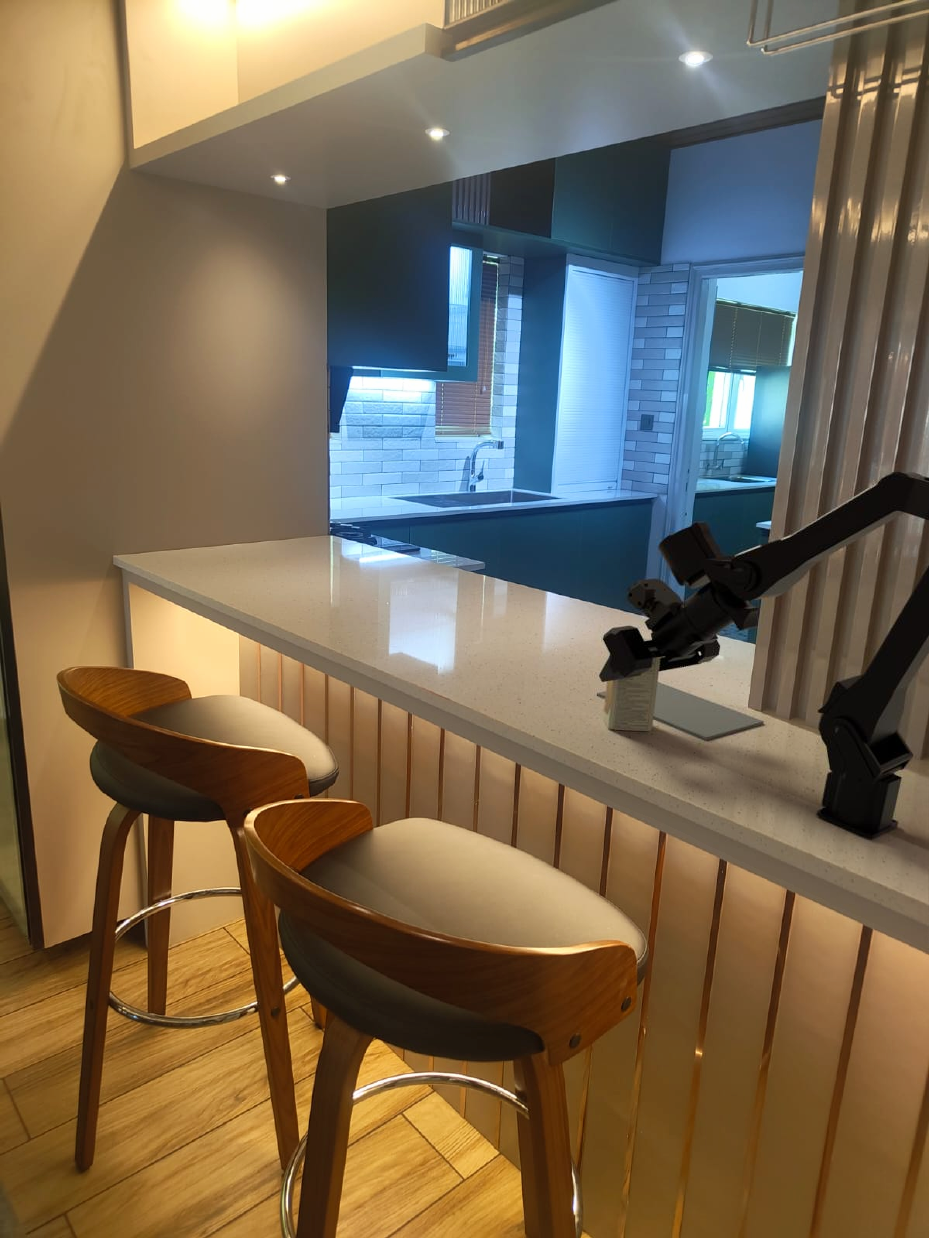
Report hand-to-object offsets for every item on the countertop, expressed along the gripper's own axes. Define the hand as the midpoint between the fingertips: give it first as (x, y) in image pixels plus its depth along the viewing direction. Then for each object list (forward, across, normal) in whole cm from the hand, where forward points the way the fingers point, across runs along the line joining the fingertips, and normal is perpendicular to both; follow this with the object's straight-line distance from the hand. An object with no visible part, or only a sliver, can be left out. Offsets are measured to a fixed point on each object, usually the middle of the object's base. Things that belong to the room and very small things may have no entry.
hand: (623, 674), depth 121 cm
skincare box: (+4, 0, +6) cm, 7 cm away
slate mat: (+4, -13, +5) cm, 15 cm away
